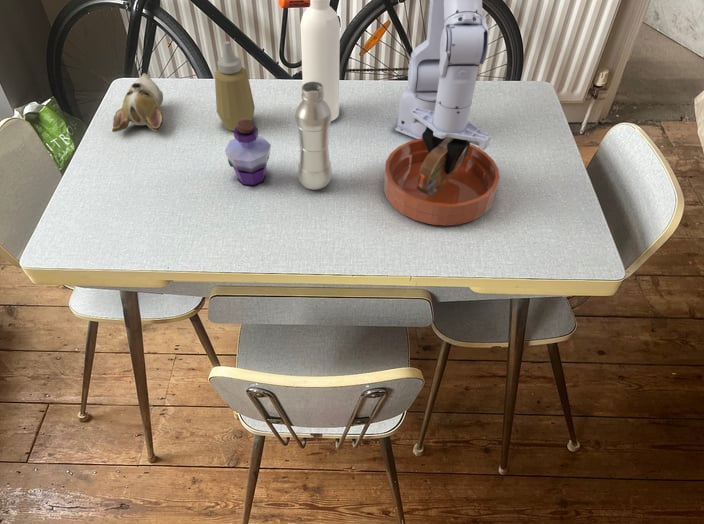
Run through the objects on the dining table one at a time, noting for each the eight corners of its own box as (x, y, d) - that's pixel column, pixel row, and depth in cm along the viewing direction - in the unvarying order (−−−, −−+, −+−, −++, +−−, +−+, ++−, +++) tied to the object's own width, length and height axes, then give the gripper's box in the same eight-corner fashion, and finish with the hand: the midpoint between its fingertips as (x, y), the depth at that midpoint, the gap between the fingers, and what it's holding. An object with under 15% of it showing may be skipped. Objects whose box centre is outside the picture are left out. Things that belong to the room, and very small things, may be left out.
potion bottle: (227, 167, 114) (218, 113, 105) (270, 161, 115) (265, 107, 106) (232, 194, 108) (223, 140, 99) (277, 188, 109) (272, 133, 100)
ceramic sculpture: (167, 65, 123) (152, 106, 114) (176, 101, 130) (163, 142, 121) (118, 66, 124) (100, 107, 115) (129, 101, 131) (113, 142, 121)
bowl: (362, 198, 107) (363, 176, 103) (419, 147, 117) (422, 125, 114) (459, 243, 98) (464, 222, 95) (512, 184, 109) (518, 162, 105)
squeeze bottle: (264, 120, 125) (255, 39, 111) (241, 139, 120) (230, 56, 107) (234, 110, 128) (223, 29, 114) (211, 128, 123) (196, 45, 110)
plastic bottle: (336, 176, 111) (337, 80, 96) (325, 197, 107) (324, 100, 92) (305, 169, 113) (301, 74, 98) (293, 190, 109) (287, 94, 94)
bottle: (327, 100, 130) (326, -45, 107) (346, 116, 125) (349, -32, 103) (296, 111, 127) (289, -36, 105) (315, 128, 123) (311, -22, 100)
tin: (424, 204, 102) (434, 167, 96) (409, 196, 103) (418, 159, 97) (465, 164, 110) (477, 127, 103) (451, 157, 111) (462, 120, 104)
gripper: (403, 96, 95) (396, 164, 105) (482, 125, 89) (467, 194, 99) (425, 78, 98) (416, 146, 109) (503, 105, 92) (486, 174, 102)
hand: (442, 167), depth 104 cm, fingers closed on tin, 2 cm apart
